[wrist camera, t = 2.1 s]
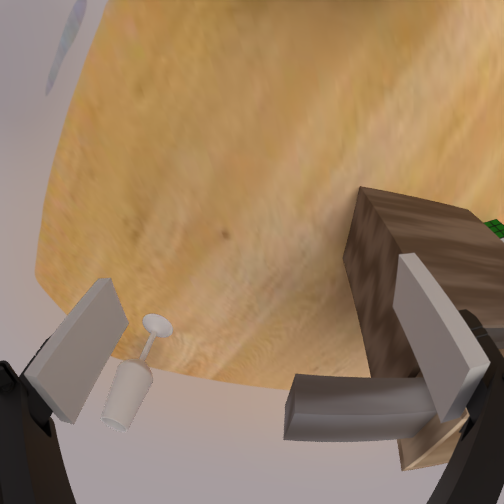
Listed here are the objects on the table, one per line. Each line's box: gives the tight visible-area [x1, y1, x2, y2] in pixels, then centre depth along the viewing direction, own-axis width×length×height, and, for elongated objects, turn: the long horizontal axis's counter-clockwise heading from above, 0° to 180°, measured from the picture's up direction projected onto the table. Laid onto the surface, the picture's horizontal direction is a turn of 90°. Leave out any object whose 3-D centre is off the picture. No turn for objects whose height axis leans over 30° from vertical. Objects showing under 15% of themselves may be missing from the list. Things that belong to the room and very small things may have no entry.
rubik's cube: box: [484, 219, 504, 242], centre depth 40 cm, size 6×6×6 cm
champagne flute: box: [100, 314, 173, 432], centre depth 49 cm, size 7×7×24 cm
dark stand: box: [343, 186, 504, 378], centre depth 31 cm, size 12×20×30 cm, turn 85°
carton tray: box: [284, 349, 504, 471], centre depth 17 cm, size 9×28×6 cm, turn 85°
